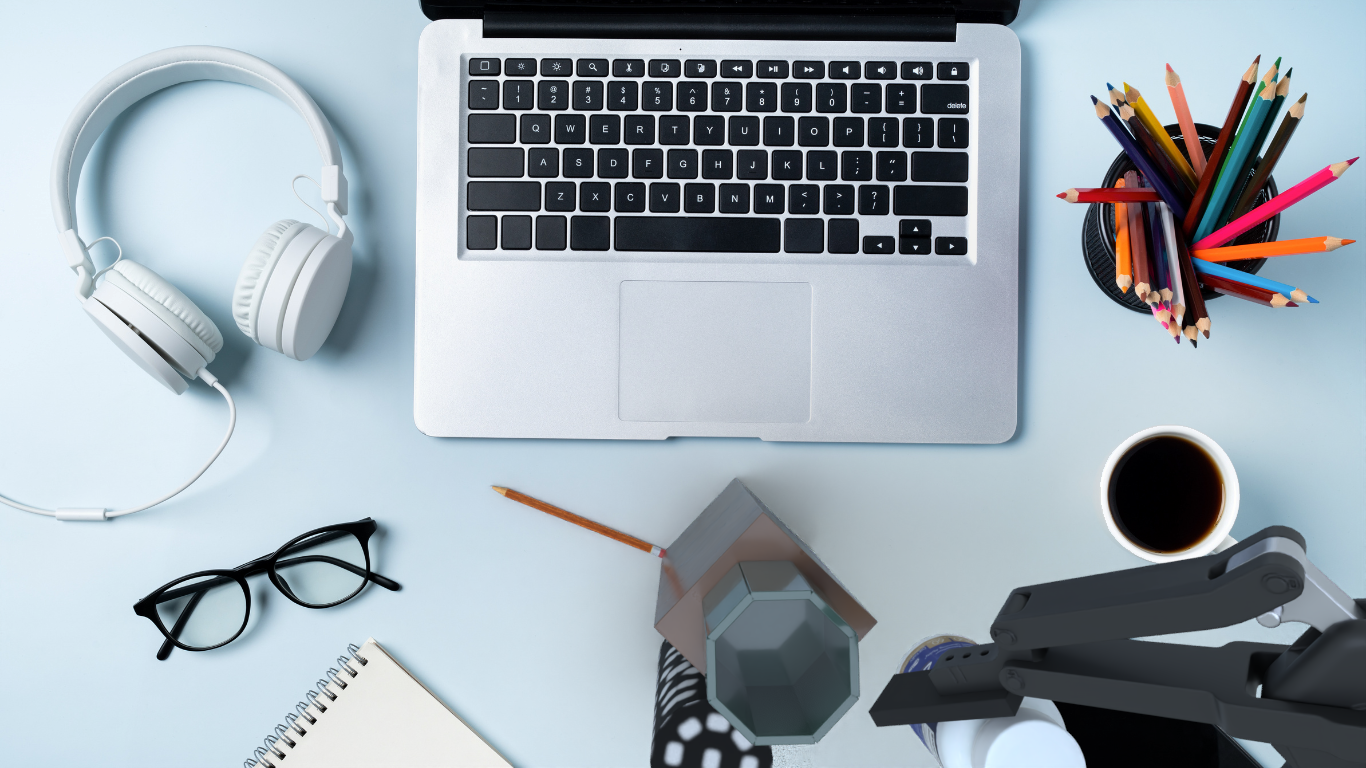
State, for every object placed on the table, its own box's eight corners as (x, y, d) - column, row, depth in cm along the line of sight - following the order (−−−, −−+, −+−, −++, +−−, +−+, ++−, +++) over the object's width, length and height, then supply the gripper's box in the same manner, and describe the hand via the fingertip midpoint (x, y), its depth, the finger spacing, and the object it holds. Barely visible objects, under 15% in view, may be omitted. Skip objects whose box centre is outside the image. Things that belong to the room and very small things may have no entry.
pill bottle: (962, 611, 39) (1060, 675, 29) (1015, 703, 39) (1131, 798, 29) (871, 664, 39) (940, 746, 29) (924, 757, 39) (1011, 871, 29)
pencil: (664, 558, 72) (664, 559, 72) (488, 489, 72) (486, 490, 72) (667, 550, 72) (667, 551, 72) (491, 481, 72) (489, 482, 72)
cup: (855, 622, 48) (890, 665, 40) (768, 716, 48) (785, 777, 40) (763, 534, 48) (780, 559, 40) (675, 626, 48) (674, 670, 40)
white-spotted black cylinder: (738, 714, 72) (761, 833, 52) (650, 698, 72) (639, 811, 52) (754, 626, 72) (783, 710, 52) (666, 610, 72) (662, 688, 52)
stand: (812, 550, 72) (878, 622, 48) (739, 628, 72) (768, 738, 48) (735, 477, 72) (763, 511, 48) (662, 554, 72) (653, 627, 48)
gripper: (1879, 942, 20) (1048, 877, 36) (1515, 339, 21) (854, 538, 37) (2075, 1270, 15) (998, 1024, 31) (1577, 446, 15) (771, 625, 32)
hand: (921, 760), depth 34 cm, fingers closed on pill bottle, 5 cm apart
